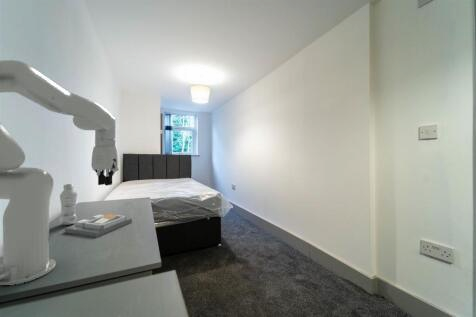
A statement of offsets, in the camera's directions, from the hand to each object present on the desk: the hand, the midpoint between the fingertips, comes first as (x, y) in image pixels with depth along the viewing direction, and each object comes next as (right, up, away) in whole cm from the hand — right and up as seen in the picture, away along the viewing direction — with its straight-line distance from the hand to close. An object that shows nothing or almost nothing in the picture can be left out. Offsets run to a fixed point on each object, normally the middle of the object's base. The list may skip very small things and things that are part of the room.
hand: (105, 184), depth 90 cm
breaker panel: (-8, -22, +9) cm, 25 cm away
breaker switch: (-5, -18, +8) cm, 20 cm away
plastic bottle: (-26, -22, +11) cm, 35 cm away
